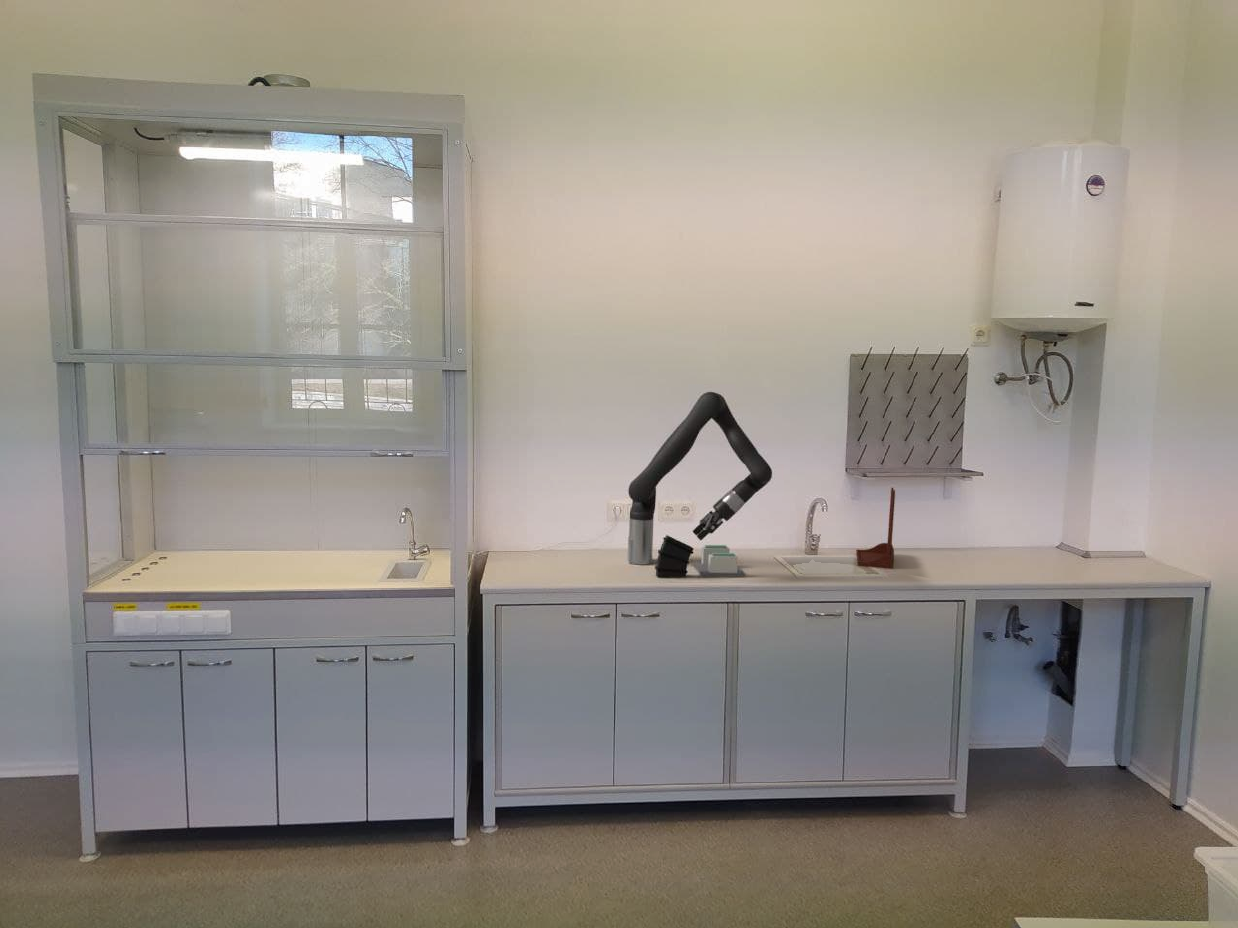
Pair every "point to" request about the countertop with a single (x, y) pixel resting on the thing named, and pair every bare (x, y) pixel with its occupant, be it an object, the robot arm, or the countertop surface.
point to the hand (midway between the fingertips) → (696, 536)
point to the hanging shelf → (880, 547)
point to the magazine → (673, 558)
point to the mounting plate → (718, 562)
